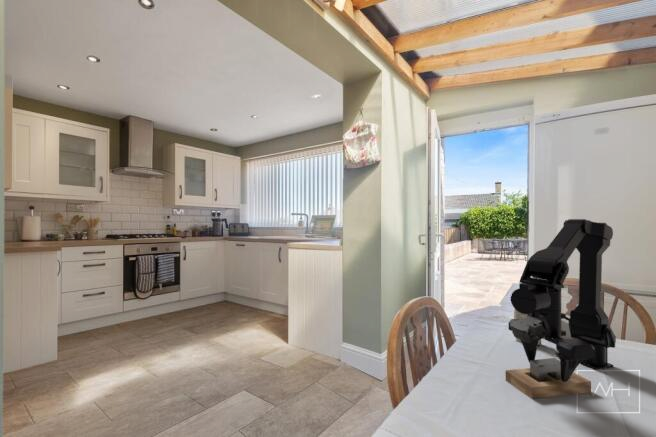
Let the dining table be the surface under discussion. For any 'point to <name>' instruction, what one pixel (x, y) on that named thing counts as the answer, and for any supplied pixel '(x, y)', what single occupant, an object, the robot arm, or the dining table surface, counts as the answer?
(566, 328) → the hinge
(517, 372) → the two-slot wooden tray
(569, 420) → the dining table surface
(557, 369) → the clip
